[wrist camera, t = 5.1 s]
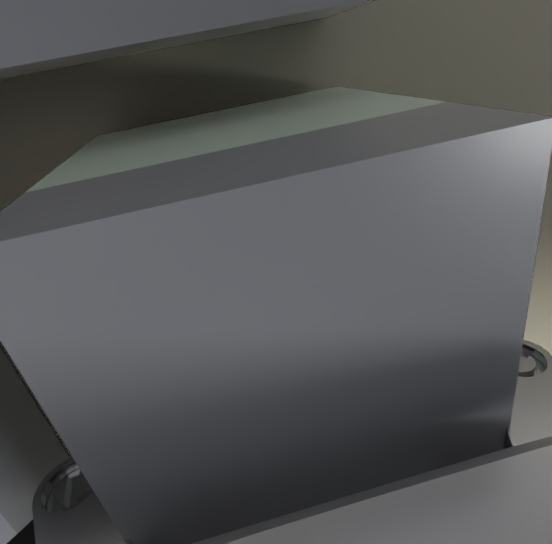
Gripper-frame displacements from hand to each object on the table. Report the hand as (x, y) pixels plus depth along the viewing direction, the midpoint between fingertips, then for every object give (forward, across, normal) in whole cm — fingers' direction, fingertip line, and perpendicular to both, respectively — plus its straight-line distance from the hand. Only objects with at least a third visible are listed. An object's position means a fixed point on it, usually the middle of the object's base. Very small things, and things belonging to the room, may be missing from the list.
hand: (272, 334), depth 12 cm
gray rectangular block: (+1, 0, 0) cm, 1 cm away
